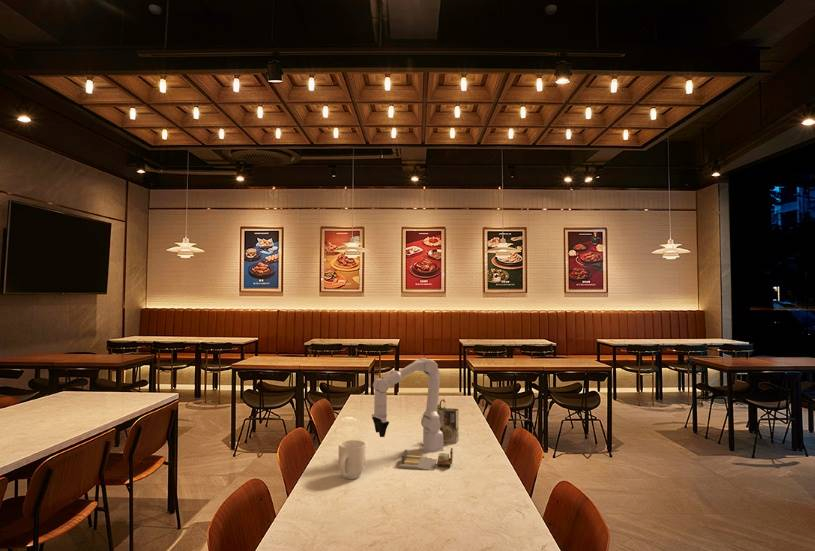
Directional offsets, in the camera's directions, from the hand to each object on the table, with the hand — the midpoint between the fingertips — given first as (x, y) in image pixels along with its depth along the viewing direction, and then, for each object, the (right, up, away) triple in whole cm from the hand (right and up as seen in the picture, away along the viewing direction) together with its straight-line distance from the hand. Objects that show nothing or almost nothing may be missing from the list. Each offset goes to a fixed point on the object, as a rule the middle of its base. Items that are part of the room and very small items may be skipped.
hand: (380, 434), depth 207 cm
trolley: (+29, -9, -11) cm, 33 cm away
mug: (-10, -9, -26) cm, 29 cm away
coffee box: (+34, -12, +25) cm, 44 cm away
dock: (+18, -10, -10) cm, 22 cm away
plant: (+34, -16, +74) cm, 83 cm away
